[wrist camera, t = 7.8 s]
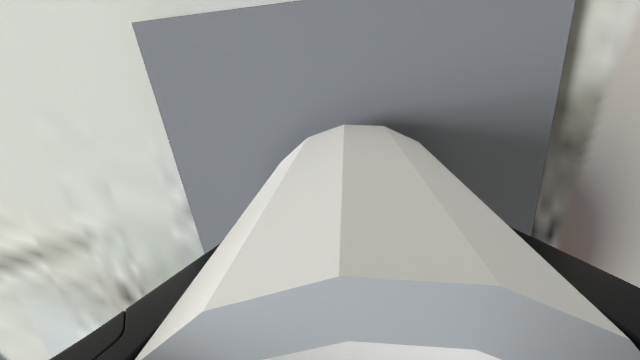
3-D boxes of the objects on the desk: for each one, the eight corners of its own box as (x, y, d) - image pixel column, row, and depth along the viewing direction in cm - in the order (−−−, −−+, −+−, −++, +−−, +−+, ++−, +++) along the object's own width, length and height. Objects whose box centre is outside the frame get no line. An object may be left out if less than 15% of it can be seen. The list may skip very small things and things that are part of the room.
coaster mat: (509, 303, 14) (516, 315, 13) (231, 314, 15) (227, 325, 15) (567, -34, 9) (581, -37, 8) (142, 22, 10) (131, 22, 10)
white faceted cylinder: (332, 46, 8) (305, 117, 2) (521, 191, 10) (847, 497, 3) (210, 228, 11) (34, 504, 5) (373, 323, 12) (405, 634, 6)
